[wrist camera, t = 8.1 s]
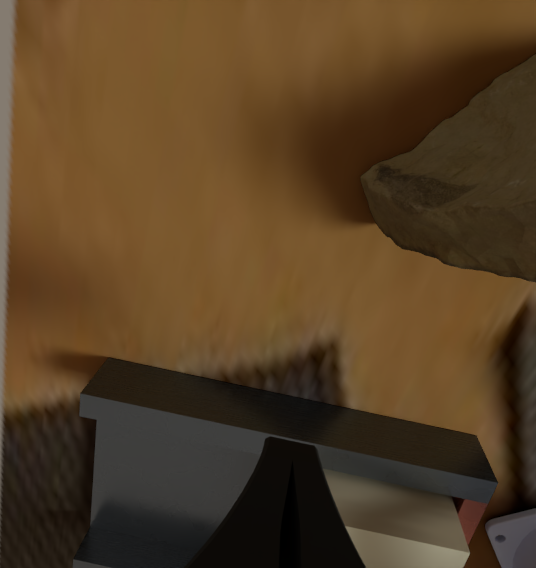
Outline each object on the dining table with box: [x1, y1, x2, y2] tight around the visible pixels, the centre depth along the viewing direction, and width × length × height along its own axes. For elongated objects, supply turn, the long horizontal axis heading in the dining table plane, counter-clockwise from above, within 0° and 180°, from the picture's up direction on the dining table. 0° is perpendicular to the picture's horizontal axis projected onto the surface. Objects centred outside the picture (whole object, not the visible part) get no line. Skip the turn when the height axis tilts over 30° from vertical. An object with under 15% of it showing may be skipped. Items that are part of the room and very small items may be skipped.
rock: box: [360, 54, 536, 282], centre depth 15 cm, size 11×9×10 cm
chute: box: [73, 358, 498, 568], centre depth 24 cm, size 18×11×3 cm, turn 79°
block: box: [323, 469, 470, 568], centre depth 22 cm, size 6×8×4 cm
